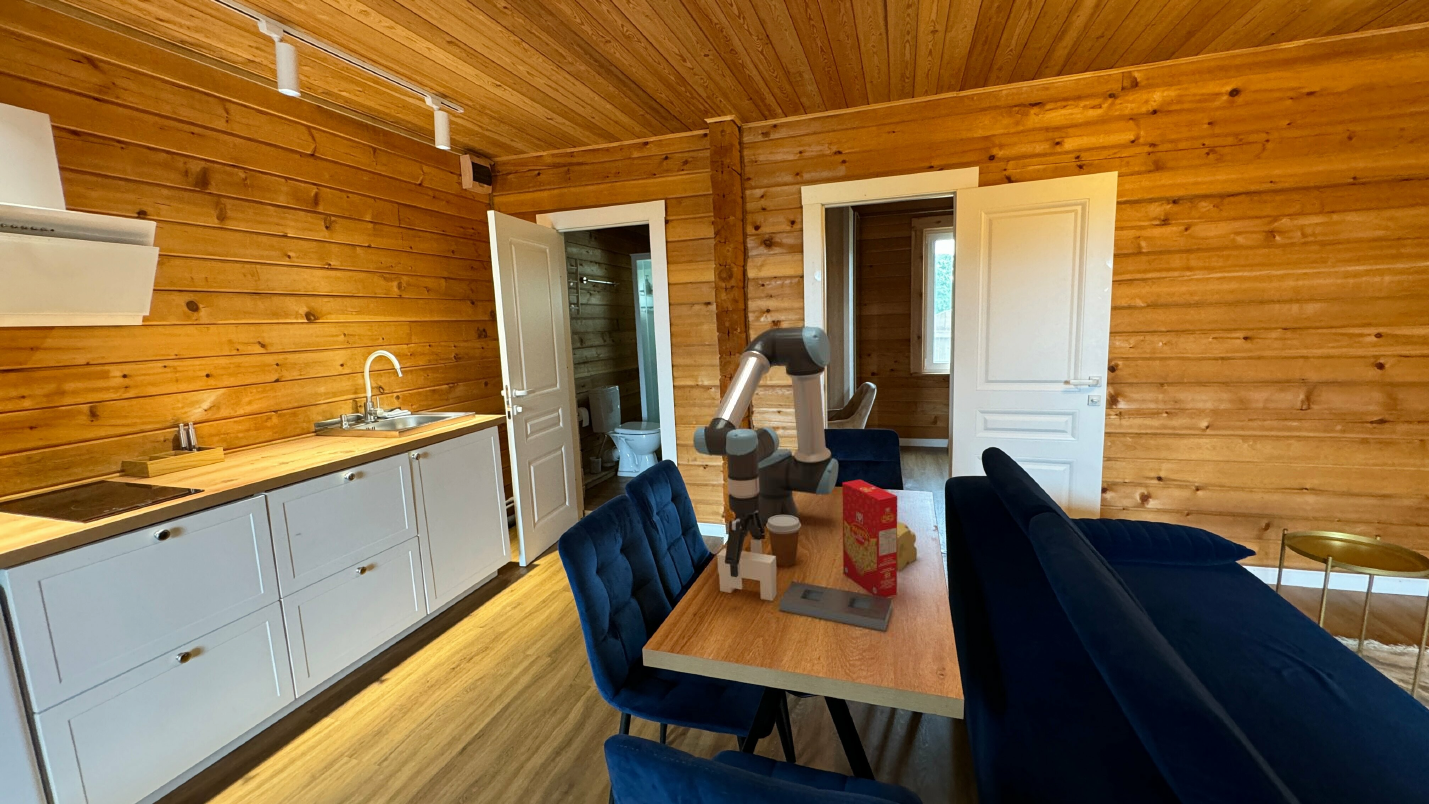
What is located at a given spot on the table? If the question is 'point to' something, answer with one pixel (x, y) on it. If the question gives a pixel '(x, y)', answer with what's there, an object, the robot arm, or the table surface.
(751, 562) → the white block
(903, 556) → the cheese
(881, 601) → the grey flat rectangular block
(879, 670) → the table surface
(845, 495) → the food packaging
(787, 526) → the disposable coffee cup
